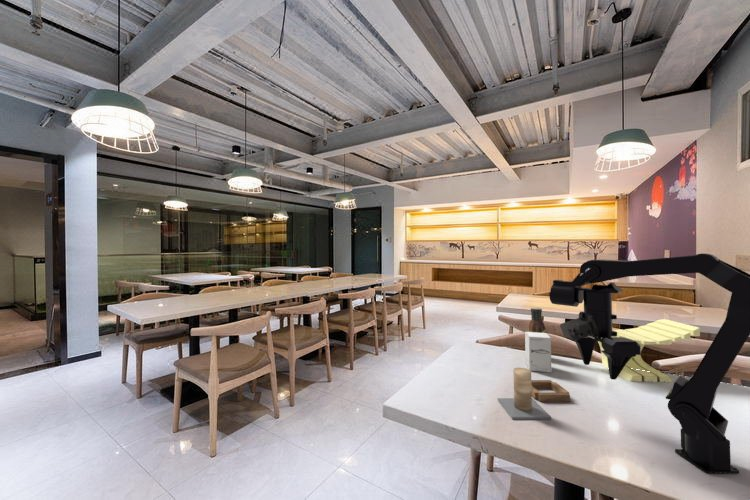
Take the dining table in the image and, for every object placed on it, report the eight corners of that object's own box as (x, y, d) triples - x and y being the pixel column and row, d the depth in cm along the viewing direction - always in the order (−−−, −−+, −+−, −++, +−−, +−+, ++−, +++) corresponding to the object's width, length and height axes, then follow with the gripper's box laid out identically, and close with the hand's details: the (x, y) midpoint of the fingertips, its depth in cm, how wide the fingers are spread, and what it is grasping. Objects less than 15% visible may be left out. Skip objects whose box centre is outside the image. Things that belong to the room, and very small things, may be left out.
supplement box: (529, 371, 109) (528, 336, 109) (525, 363, 116) (524, 331, 116) (552, 373, 107) (551, 337, 107) (546, 365, 114) (546, 332, 114)
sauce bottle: (549, 360, 119) (548, 310, 119) (532, 359, 120) (531, 309, 121) (543, 354, 126) (542, 307, 126) (527, 354, 127) (526, 306, 127)
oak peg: (535, 409, 81) (534, 372, 82) (523, 412, 80) (523, 374, 80) (522, 401, 85) (521, 366, 86) (510, 405, 84) (509, 369, 84)
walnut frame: (572, 401, 86) (572, 394, 86) (537, 401, 86) (537, 394, 87) (552, 386, 96) (552, 380, 96) (521, 386, 96) (521, 380, 97)
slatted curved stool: (659, 364, 113) (658, 317, 113) (701, 382, 97) (699, 327, 97) (575, 363, 116) (573, 316, 116) (602, 380, 100) (601, 327, 100)
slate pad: (551, 419, 78) (551, 416, 78) (512, 419, 78) (512, 416, 78) (532, 400, 88) (532, 398, 88) (497, 400, 88) (497, 398, 88)
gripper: (545, 303, 85) (546, 358, 85) (590, 317, 66) (592, 388, 66) (585, 302, 85) (586, 358, 85) (642, 317, 66) (643, 388, 66)
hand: (599, 371), depth 75 cm, fingers open, 9 cm apart
